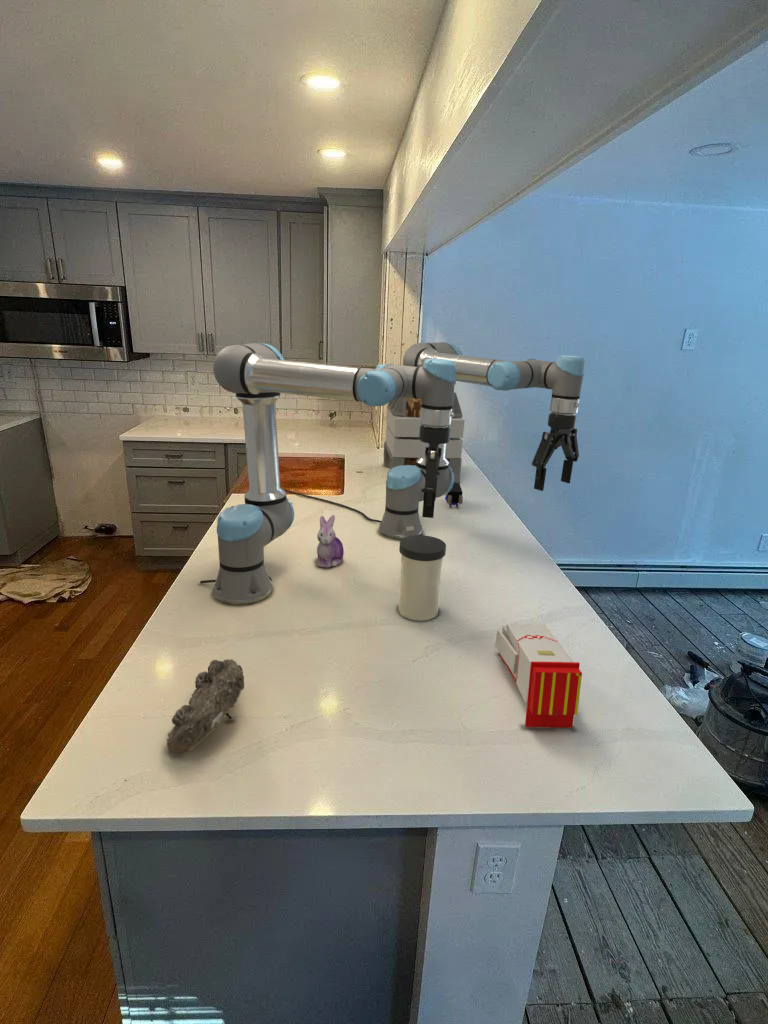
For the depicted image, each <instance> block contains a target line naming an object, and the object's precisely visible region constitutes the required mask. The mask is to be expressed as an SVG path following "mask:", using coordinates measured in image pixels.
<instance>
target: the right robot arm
mask: <svg viewBox="0 0 768 1024" xmlns="http://www.w3.org/2000/svg"><path fill="white" fill-rule="evenodd" d="M426 359H446V360H451V361H453V362H454V363H455V386H456V384H457V382H461V383H465V384H473V385H479V386H487V387H491V388H492V389H494V390H496V391H503V392H504V391H511V390H520V389H532V388H533V389H534V388H539V389H546V390H551V398H550V404H549V413H548V418H547V419H548V420H547V426H548V427H549V428H550V431H549V432H548V431H543V432H542V435H541V440H540V442H539V445H538V447H537V449H536V452H535V454H534V457H533V460H532V461H531V466H533V467H535V475H534V477H535V478H534V485H533V489H534V490H537V491H539V492H543V491H544V489H545V484H546V483H545V482H546V476H547V468H546V466H547V465H548V463H549V461H550V459H551V457H552V456H553V454H554V453H555V451H556V450H557V449H558V448H560V447H561V449H562V452H563V455H564V458H565V459H563V463H562V468H561V469H562V470H561V475H560V482H562V483H566V484H571V478H572V472H573V466H574V463H576V462H578V461H579V457H580V453H579V444H578V428H576V423H577V419H578V416H577V414H578V412H579V411H578V410H579V406H580V397H581V391H582V385H583V380H584V376H585V365H586V360H585V358H584V357H582V356H578V355H566V354H565V355H564V354H563V355H558V356H557V357H556V360H555V361H549V360H541V359H536V358H524V359H521V360H506V359H505V360H504V359H503V360H502V359H496V358H487V357H479V356H471V355H464V354H463V352H462V350H461V349H460V347H459V346H457V345H456V344H455V343H451V342H445V341H443V342H442V341H441V342H440V341H439V342H438V341H437V342H417V343H414V344H412V345H411V346H409V347H408V348H407V350H406V351H405V353H404V355H403V358H402V366H412V367H423V365H424V361H425V360H426ZM426 447H429V444H428V443H424V442H422V449H421V457H420V458H418V459H417V461H416V466H413V465H401V466H396V467H394V468H392V469H390V468H389V470H388V472H387V474H386V479H385V504H384V505H385V507H384V508H385V509H384V513H383V515H382V519H381V520H379V519H375V518H370V517H368V516H367V515H366V514H365V513H364V512H362V511H360V510H359V509H356V508H353V507H350V506H348V505H345V504H342V503H338V502H335V501H332V500H329V499H324V498H320V497H317V496H312V495H309V494H303V493H299V492H296V491H292V490H288V489H285V488H282V489H283V490H284V491H285V492H286V493H289V494H293V495H296V496H301V497H303V498H304V497H305V498H309V499H313V500H318V501H321V502H325V503H329V504H333V505H336V506H339V507H343V508H345V509H348V510H351V511H354V512H355V513H358V514H360V515H362V516H363V517H364V518H365V519H366V520H368V521H370V522H375V523H379V526H378V533H379V534H380V535H381V536H382V537H385V538H387V539H389V540H395V541H401V540H402V539H403V538H405V537H408V536H413V535H423V525H422V524H421V518H420V515H419V507H420V506H419V505H420V502H423V500H424V492H421V490H422V489H424V488H425V479H426V466H425V460H426V457H425V450H426ZM439 448H442V452H441V458H440V463H439V467H438V470H437V471H440V476H439V475H436V476H437V488H436V499H437V498H440V497H443V496H446V495H445V494H447V493H448V492H449V491H450V490H451V489H452V487H453V484H454V473H452V469H451V467H450V466H449V462H448V461H447V459H446V458H445V453H446V444H439Z"/></svg>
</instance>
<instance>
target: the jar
mask: <svg viewBox="0 0 768 1024" xmlns="http://www.w3.org/2000/svg"><path fill="white" fill-rule="evenodd" d="M442 569H443V558H441V559H438V560H435V561H417V560H412V559H409V558H407V557H405V556H403V555H402V554H401V559H400V577H399V595H398V613H399V614H400V615H401V616H402V617H403V618H406V619H408V620H412V621H417V622H418V621H419V622H422V621H423V622H424V621H430V620H432V619H434V618H436V617H437V615H438V613H439V605H440V594H441V593H440V592H441V581H442Z"/></svg>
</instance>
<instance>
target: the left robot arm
mask: <svg viewBox="0 0 768 1024" xmlns="http://www.w3.org/2000/svg"><path fill="white" fill-rule="evenodd" d="M212 370H213V371H212V372H213V375H214V378H215V380H216V382H217V384H218V385H219V386H220V387H221V388H222V389H224V390H225V391H227V392H229V393H231V394H235V398H236V399H237V400H238V401H240V402H241V405H242V417H243V429H244V441H245V453H246V462H247V463H246V464H247V465H246V466H247V477H248V478H247V479H248V490H247V491H246V492H245V493H244V496H243V498H244V503H241V504H237V505H231V506H229V507H227V508H225V509H223V510H222V511H221V512H220V513H219V514H218V517H217V518H216V519H217V520H216V521H217V522H216V523H217V524H216V533H217V546H218V561H219V569H218V572H217V576H216V578H215V579H205V580H200V581H199V583H200V584H208V583H209V584H210V583H214V586H213V592H214V598H216V599H217V600H218V601H219V602H221V603H224V604H228V605H236V606H237V605H239V606H240V605H249V604H250V605H251V604H255V603H258V602H261V601H263V600H265V599H267V598H268V597H269V596H270V595H271V593H272V590H273V587H272V586H273V585H272V582H273V579H272V576H270V574H268V571H267V568H266V565H265V551H264V550H265V547H266V546H267V545H268V544H271V543H272V542H273V541H275V540H276V539H278V538H279V537H281V536H283V535H284V534H285V533H287V531H288V530H289V529H290V528H291V526H292V525H293V523H294V520H295V509H294V505H293V504H292V501H291V502H290V500H289V498H288V497H287V492H285V491H284V490H283V489H284V488H282V487H281V474H280V462H279V461H280V460H279V459H280V458H279V444H278V443H279V442H278V428H277V427H278V426H277V413H276V402H277V401H278V400H279V398H280V397H281V394H286V395H296V396H297V395H298V396H305V397H315V398H316V397H317V398H323V399H333V400H341V401H352V402H358V403H364V405H366V406H368V407H383V406H385V405H386V406H387V405H388V403H389V402H391V401H393V400H395V399H398V398H415V399H421V402H422V403H421V413H420V423H421V424H422V425H421V426H420V432H419V440H420V441H422V442H424V443H428V444H429V447H426V450H425V457H426V460H425V466H426V479H425V488H424V489H422V490H421V492H424V500H423V501H422V502H423V503H422V515H421V517H422V518H428V519H434V517H435V516H434V515H435V503H436V499H437V498H436V488H437V476H436V475H439V476H440V471H437V470H438V467H439V463H440V458H441V452H442V448H439V444H446V443H448V442H449V441H450V432H451V428H450V427H449V425H451V417H453V416H454V415H455V414H454V413H453V412H452V407H453V406H452V405H453V396H454V392H455V386H456V385H455V363H454V362H453V361H451V360H446V359H426V360H425V361H424V365H423V367H412V366H403V364H401V365H400V364H393V363H381V364H377V365H376V366H375V368H371V367H357V366H347V365H337V364H326V363H316V362H307V361H296V360H286V359H285V358H284V356H283V355H282V353H281V352H280V351H279V350H278V349H277V348H276V347H274V346H273V345H271V344H268V343H262V342H261V343H260V342H251V343H244V344H233V345H232V344H231V345H228V346H226V347H223V348H222V349H221V350H220V351H218V353H217V354H216V356H215V358H214V360H213V365H212Z"/></svg>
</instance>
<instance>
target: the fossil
mask: <svg viewBox="0 0 768 1024" xmlns="http://www.w3.org/2000/svg"><path fill="white" fill-rule="evenodd" d="M243 670H244V669H243V667H242V665H240V664H237V662H236V661H235V660H234V659H232V658H231V659H227V658H226V659H224V660H223V661H222V660H217V659H212V660H211V661H210V663H209V665H208V666H207V671H201V672H199V673H198V674H197V675H196V676H195V680H194V684H195V685H194V687H195V689H194V690H193V693H192V694H191V697H190V698H189V700H188V704H184V705H182V706H181V707H180V709H177V710H176V711H175V713H174V715H173V716H172V718H171V723H172V724H173V727H172V730H171V731H170V732H168V734H167V738H166V741H167V742H166V745H167V749H168V750H169V751H173V752H174V753H176V754H178V753H182V752H188V751H189V752H192V751H193V750H195V748H196V747H197V746H199V744H200V743H201V742H203V741H204V740H205V739H206V738H207V737H208V736H209V735H210V734H211V733H212V732H214V730H215V729H217V727H218V726H219V724H220V722H221V721H222V720H223V719H224V718H225V716H226V717H227V719H229V720H233V717H232V715H230V714H229V710H230V709H231V708H234V706H235V704H236V703H237V702H238V699H239V697H240V695H241V693H242V691H243V690H245V689H244V688H245V675H244V671H243Z"/></svg>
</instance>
